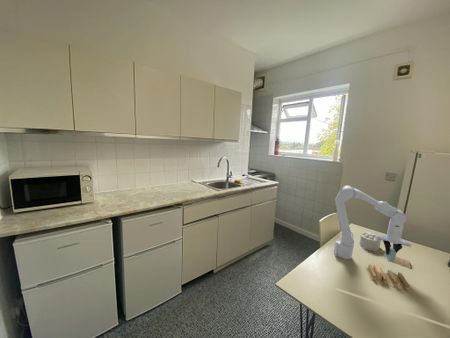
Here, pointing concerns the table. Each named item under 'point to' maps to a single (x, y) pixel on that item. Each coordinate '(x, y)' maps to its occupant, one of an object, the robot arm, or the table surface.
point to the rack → (389, 279)
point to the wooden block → (377, 272)
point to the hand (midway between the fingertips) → (389, 254)
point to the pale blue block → (391, 255)
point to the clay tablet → (402, 262)
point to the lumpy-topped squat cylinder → (369, 241)
